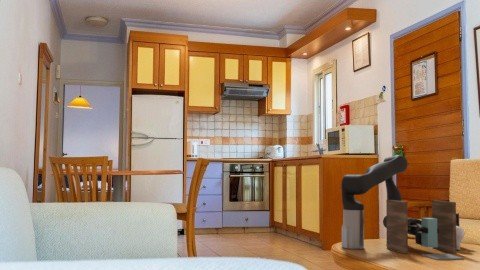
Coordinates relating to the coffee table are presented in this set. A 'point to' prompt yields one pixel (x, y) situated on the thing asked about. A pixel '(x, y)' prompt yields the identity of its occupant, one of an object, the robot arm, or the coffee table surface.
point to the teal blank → (429, 232)
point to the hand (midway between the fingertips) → (432, 230)
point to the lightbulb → (459, 236)
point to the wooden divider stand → (399, 225)
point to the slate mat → (442, 257)
